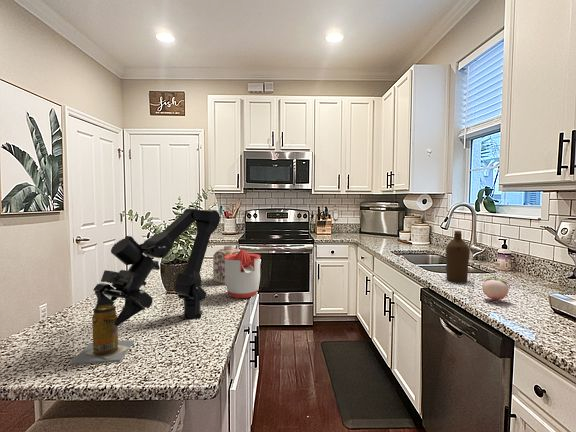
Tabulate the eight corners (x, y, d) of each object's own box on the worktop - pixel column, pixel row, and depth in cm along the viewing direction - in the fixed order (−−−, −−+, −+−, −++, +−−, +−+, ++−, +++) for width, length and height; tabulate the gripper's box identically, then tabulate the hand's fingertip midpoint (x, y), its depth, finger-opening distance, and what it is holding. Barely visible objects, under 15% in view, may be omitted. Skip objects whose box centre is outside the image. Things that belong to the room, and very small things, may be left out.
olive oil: (473, 282, 167) (474, 231, 165) (454, 283, 165) (455, 232, 164) (459, 277, 177) (460, 229, 176) (440, 278, 175) (441, 230, 174)
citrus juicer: (230, 303, 134) (230, 253, 133) (220, 292, 150) (220, 247, 149) (267, 298, 141) (267, 251, 139) (254, 288, 156) (254, 245, 155)
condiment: (108, 343, 97) (107, 302, 96) (130, 348, 93) (129, 305, 93) (84, 354, 90) (82, 309, 89) (107, 359, 87) (105, 314, 86)
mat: (90, 344, 97) (90, 342, 97) (134, 341, 99) (134, 340, 99) (69, 364, 85) (69, 363, 85) (120, 361, 87) (120, 359, 87)
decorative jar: (212, 281, 170) (212, 245, 169) (230, 277, 179) (230, 243, 178) (228, 285, 162) (227, 248, 162) (246, 280, 171) (245, 245, 170)
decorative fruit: (482, 302, 135) (482, 277, 134) (481, 296, 142) (481, 273, 142) (510, 305, 131) (510, 280, 130) (507, 299, 138) (508, 275, 137)
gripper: (98, 256, 100) (60, 303, 90) (142, 261, 91) (106, 314, 82) (122, 276, 107) (90, 322, 98) (165, 283, 99) (135, 333, 90)
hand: (104, 322), depth 92 cm, fingers open, 9 cm apart
